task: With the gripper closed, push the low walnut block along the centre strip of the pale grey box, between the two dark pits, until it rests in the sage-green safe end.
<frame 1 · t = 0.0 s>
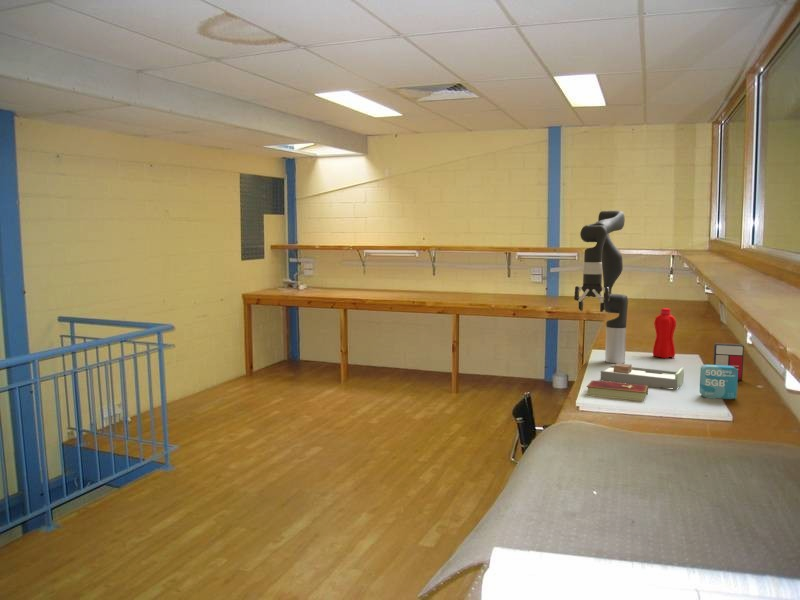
hand: (591, 311, 264), 29 cm above the workbench, tool pointing down, fingers open, 8 cm apart
grey white red block: (727, 379, 268), on the workbench
hardcover book: (617, 396, 239), on the workbench
walnut block: (622, 371, 267), point 3 cm above the workbench, touching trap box
water bottle: (662, 357, 319), on the workbench
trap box: (641, 381, 263), on the workbench
data package: (717, 397, 236), on the workbench
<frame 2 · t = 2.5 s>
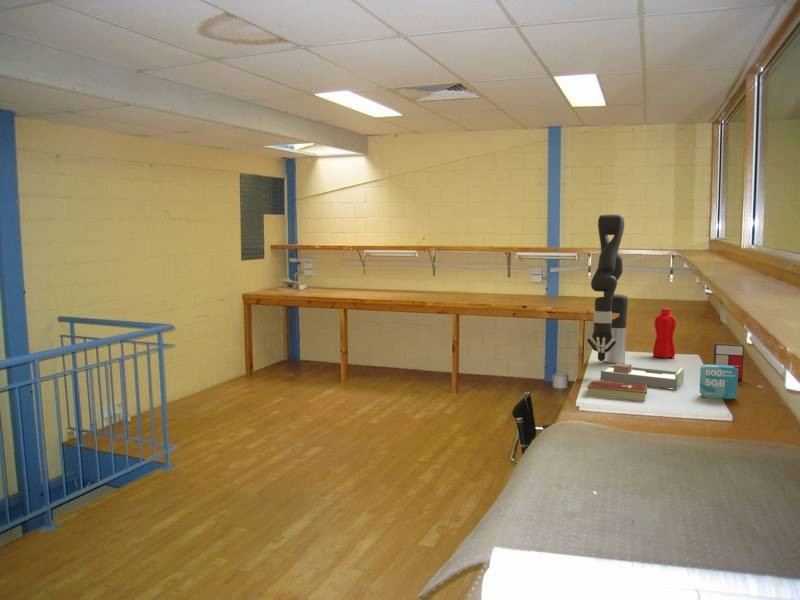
hand: (601, 360, 271), 7 cm above the workbench, tool pointing down, fingers closed
nothing on the workbench moved.
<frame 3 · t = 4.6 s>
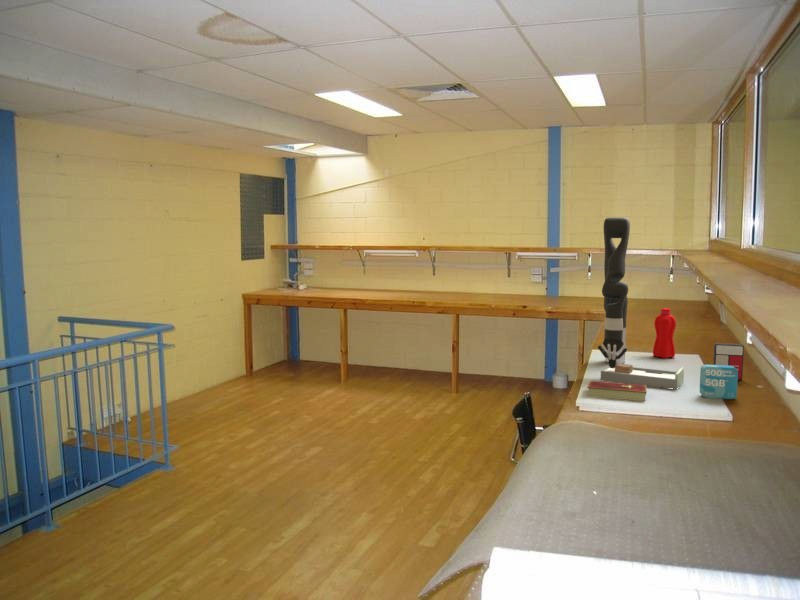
hand: (612, 367, 269), 4 cm above the workbench, tool pointing down, fingers closed
walnut block: (623, 372, 267), point 3 cm above the workbench, touching gripper, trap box
everything else where it was.
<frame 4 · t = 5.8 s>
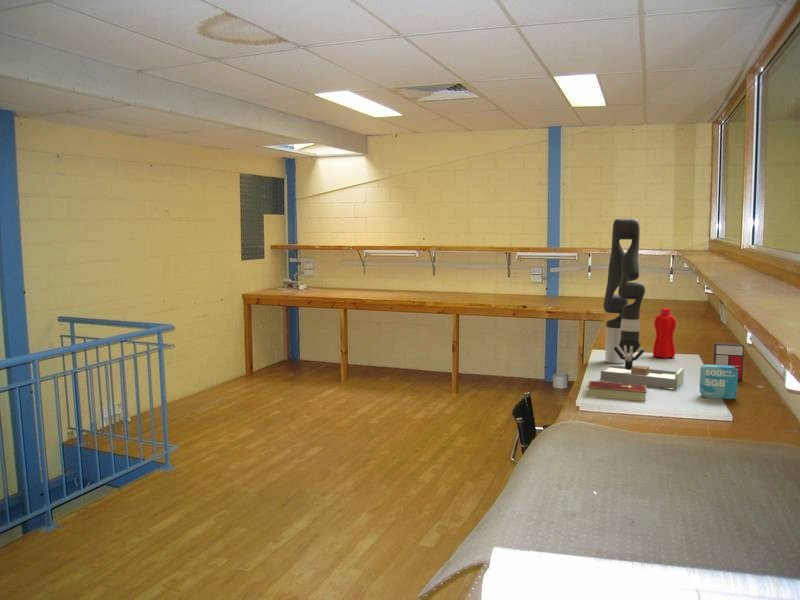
hand: (628, 369, 265), 4 cm above the workbench, tool pointing down, fingers closed
walnut block: (640, 373, 263), point 3 cm above the workbench, touching gripper
everything else where it was.
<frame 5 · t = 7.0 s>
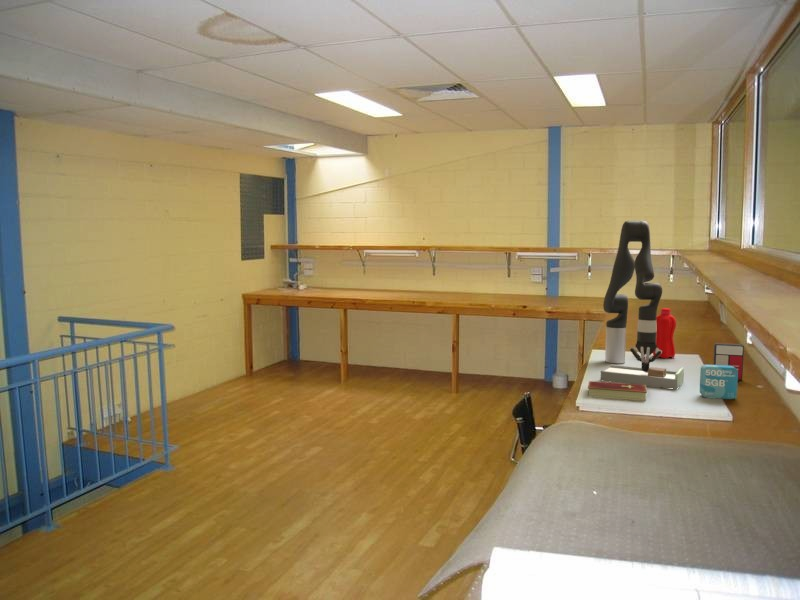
hand: (645, 371, 262), 4 cm above the workbench, tool pointing down, fingers closed
walnut block: (656, 375, 259), point 3 cm above the workbench, touching gripper, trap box
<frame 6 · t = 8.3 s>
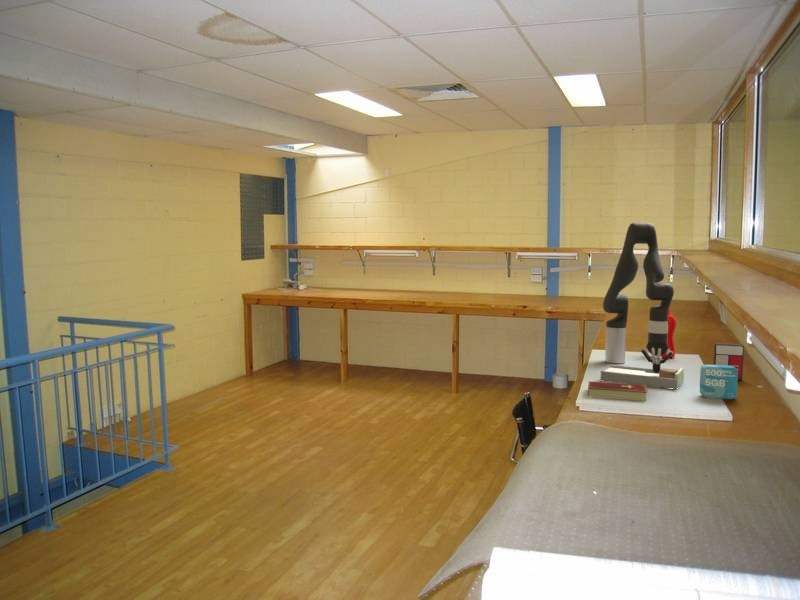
hand: (656, 372, 259), 4 cm above the workbench, tool pointing down, fingers closed
walnut block: (668, 377, 257), point 3 cm above the workbench, touching gripper, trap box
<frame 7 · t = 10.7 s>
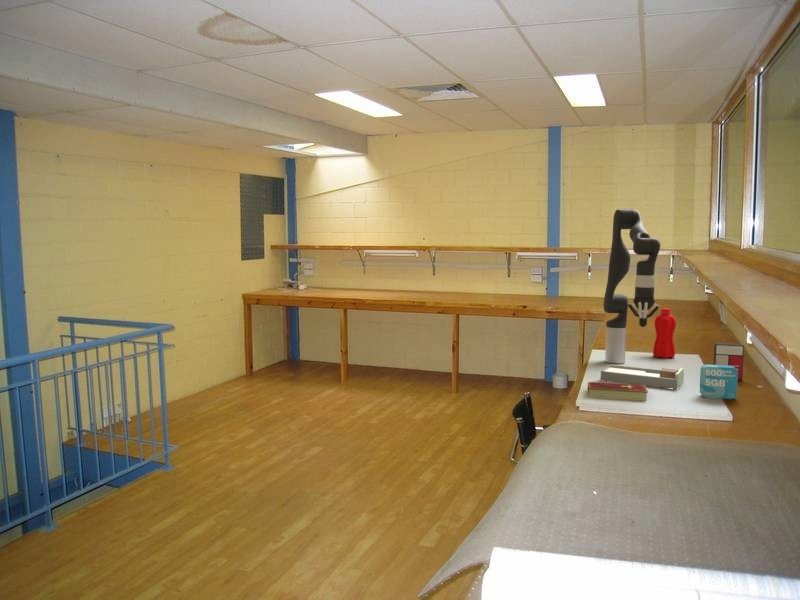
hand: (642, 326, 262), 23 cm above the workbench, tool pointing down, fingers closed
walnut block: (668, 377, 257), point 3 cm above the workbench, touching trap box
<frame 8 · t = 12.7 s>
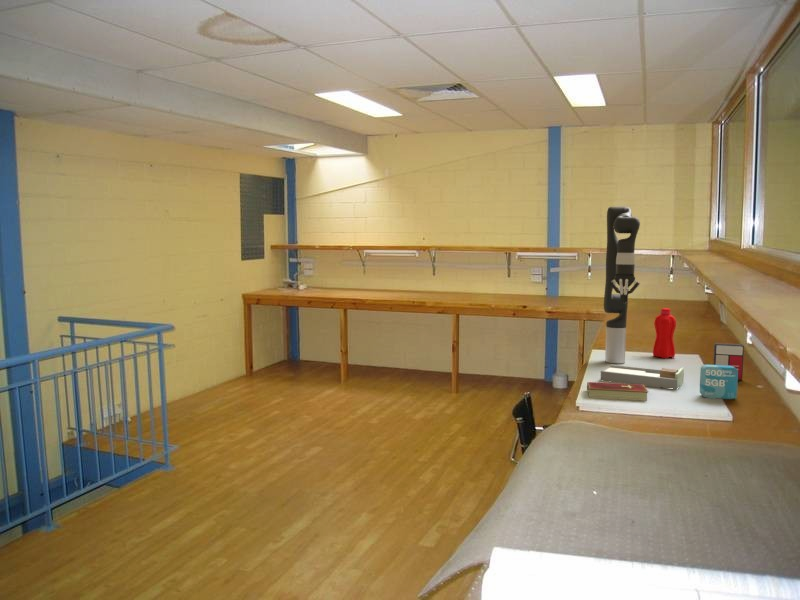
hand: (623, 303, 271), 32 cm above the workbench, tool pointing down, fingers closed
at the end: walnut block 0.4 cm from the target spot on the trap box, point 3.0 cm above the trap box's base; walnut block tilted 0° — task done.
